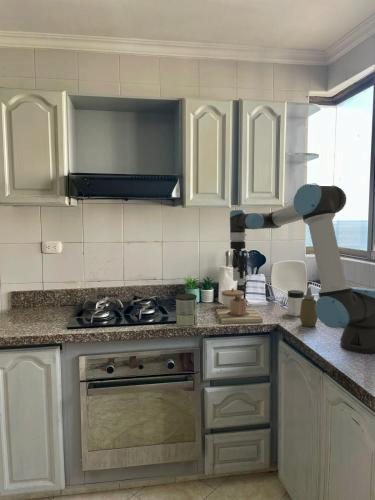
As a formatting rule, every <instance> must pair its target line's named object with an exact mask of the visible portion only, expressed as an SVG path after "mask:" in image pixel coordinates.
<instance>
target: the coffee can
mask: <svg viewBox="0 0 375 500" xmlns="http://www.w3.org/2000/svg"><path fill="white" fill-rule="evenodd" d="M197 297H198V295H197V294H193V293H181V294H180V293H179V294H177V295H175V297H174V298H175V318H176V319H175V322H176V323H175V325H176V324H177V325H178V326H180V328H192V327H193V328H194V327H196V326H197V325H198V312H197V311H198V309H197V305H198V304H197V301H198V300H197ZM177 325H176V326H177ZM178 326H177V327H178Z"/></svg>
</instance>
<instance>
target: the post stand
mask: <svg viewBox="0 0 375 500" xmlns="http://www.w3.org/2000/svg"><path fill="white" fill-rule="evenodd" d="M235 301H241V296H235ZM246 310H247V314H246V315H232V314H231V313H230V309H228V308H224V309H223V308H222V309H221V308H220V309H216V310H215V313H216V316H217V318H218V319H219V321H220V323H221V325H226V324H227V325H228V324H255V323H256V324H257V323H264V321H263V320H264V319H263V317H262V316H261V315H260V314H259V313H258V312H257V311H256V310H255V309H254V308H246Z"/></svg>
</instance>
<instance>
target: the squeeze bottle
mask: <svg viewBox="0 0 375 500" xmlns="http://www.w3.org/2000/svg"><path fill="white" fill-rule="evenodd" d="M312 293H313V292H312V289H311V287H309V286H308V287H307V288H306V293H304V299H303V300H302V302H301V310H300V316H299V320H300V322H301V325H302V326H304V327H307V328H308V327H309V328H310V327H315V326H316V324H317V321H318V320H319V318H318V317H317V315H316V312H315V304H316V302H317V300H316V299H315V295H314V294H312Z"/></svg>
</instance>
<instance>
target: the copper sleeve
mask: <svg viewBox="0 0 375 500" xmlns="http://www.w3.org/2000/svg"><path fill="white" fill-rule="evenodd" d="M246 309H247V299H245V298H244V299H243V298H241V301H235V298H234V299H230V313H231V314H232V315H246V314H247V310H246Z"/></svg>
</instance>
